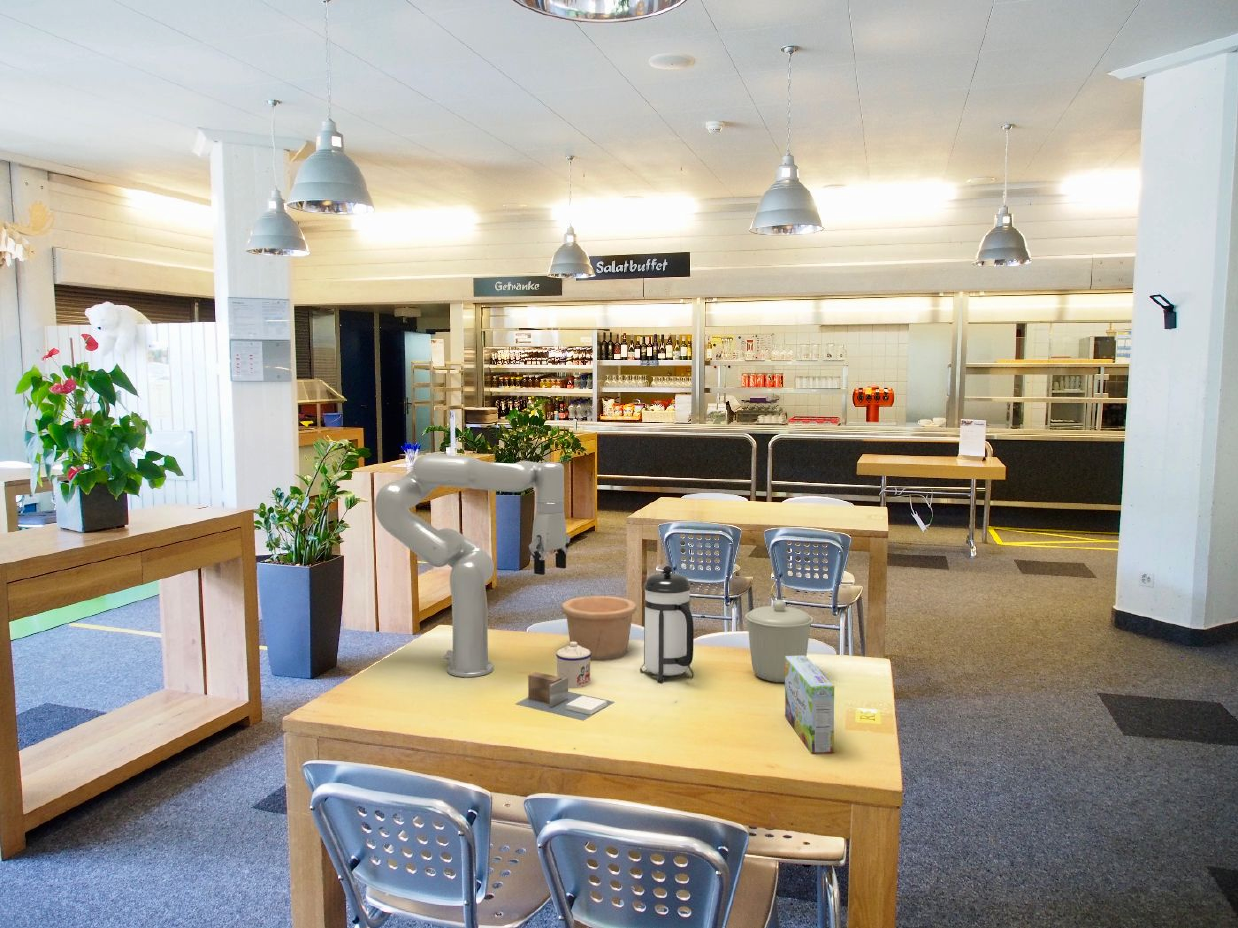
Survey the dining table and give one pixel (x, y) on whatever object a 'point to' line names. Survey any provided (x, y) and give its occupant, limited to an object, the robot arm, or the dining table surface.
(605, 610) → the pottery
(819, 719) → the snack box
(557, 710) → the slate board
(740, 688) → the dining table surface
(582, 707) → the tile
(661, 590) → the coffee press
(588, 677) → the teacup with lid
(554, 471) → the robot arm
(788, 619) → the canister
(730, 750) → the dining table surface
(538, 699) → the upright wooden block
